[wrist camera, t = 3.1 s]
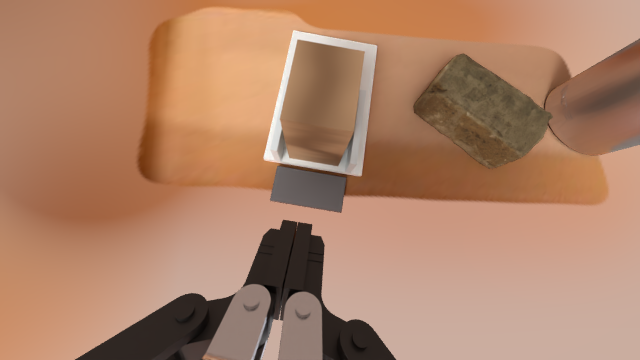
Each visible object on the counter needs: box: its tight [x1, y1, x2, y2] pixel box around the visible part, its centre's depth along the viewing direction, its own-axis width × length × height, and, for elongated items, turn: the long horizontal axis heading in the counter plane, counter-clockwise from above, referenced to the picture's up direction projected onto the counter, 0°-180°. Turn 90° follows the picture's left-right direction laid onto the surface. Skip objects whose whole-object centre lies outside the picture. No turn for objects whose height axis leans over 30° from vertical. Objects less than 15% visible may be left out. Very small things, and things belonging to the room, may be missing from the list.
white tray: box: [264, 30, 377, 213], centre depth 23 cm, size 10×20×4 cm, turn 171°
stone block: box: [414, 54, 553, 169], centre depth 23 cm, size 6×12×5 cm, turn 50°
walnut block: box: [280, 40, 365, 166], centre depth 20 cm, size 5×6×8 cm
